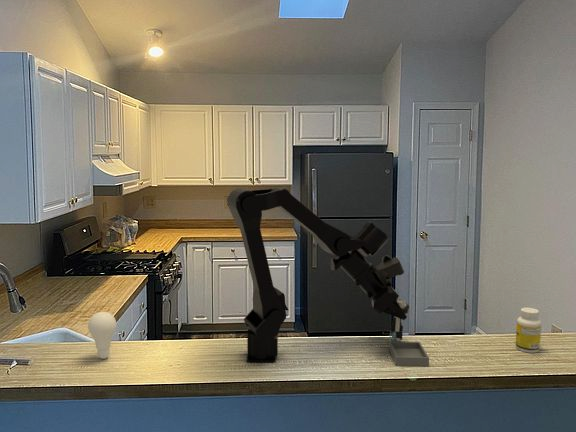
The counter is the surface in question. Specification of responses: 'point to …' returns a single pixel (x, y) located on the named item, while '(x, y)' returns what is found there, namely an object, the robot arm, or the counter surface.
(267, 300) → the robot arm
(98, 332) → the lightbulb
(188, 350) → the counter surface
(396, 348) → the tray
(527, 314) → the supplement bottle
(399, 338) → the push button
